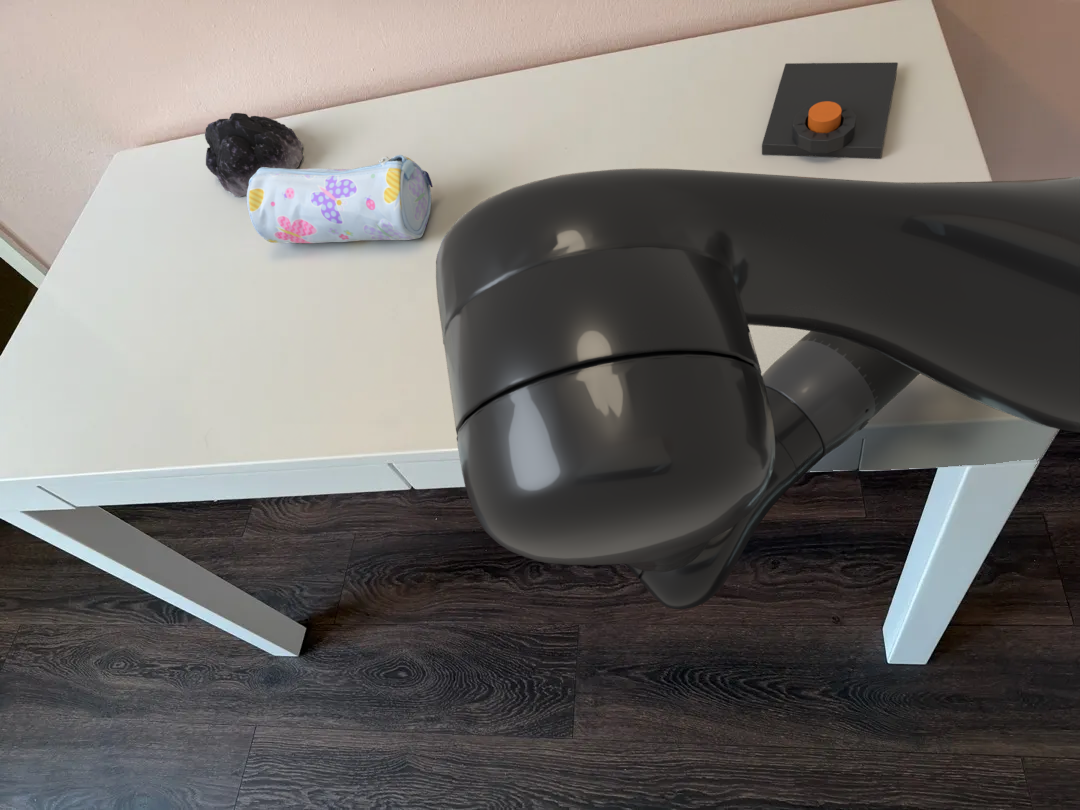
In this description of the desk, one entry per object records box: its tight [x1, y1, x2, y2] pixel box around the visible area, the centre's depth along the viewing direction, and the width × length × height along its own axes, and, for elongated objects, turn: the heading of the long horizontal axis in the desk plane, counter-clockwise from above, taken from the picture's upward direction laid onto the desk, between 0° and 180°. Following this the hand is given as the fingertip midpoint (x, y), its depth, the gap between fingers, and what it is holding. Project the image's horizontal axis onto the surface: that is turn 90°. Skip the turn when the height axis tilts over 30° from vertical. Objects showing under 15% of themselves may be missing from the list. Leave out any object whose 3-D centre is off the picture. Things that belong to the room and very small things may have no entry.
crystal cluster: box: [204, 112, 304, 198], centre depth 102 cm, size 13×14×10 cm
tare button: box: [808, 101, 842, 133], centre depth 80 cm, size 3×3×2 cm
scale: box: [761, 62, 899, 159], centre depth 83 cm, size 12×15×3 cm
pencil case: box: [246, 154, 434, 244], centre depth 89 cm, size 21×9×10 cm, turn 81°
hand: (979, 250), depth 59 cm, fingers closed on pill bottle, 5 cm apart
